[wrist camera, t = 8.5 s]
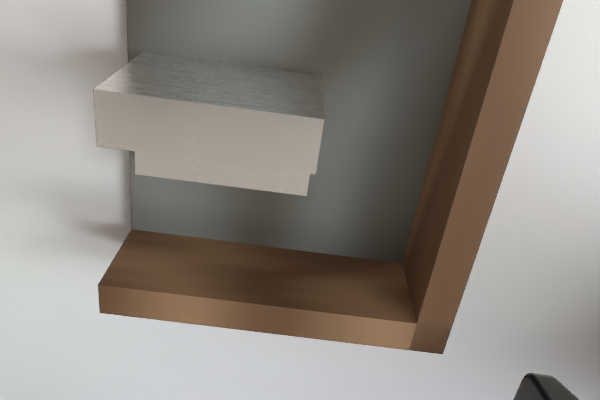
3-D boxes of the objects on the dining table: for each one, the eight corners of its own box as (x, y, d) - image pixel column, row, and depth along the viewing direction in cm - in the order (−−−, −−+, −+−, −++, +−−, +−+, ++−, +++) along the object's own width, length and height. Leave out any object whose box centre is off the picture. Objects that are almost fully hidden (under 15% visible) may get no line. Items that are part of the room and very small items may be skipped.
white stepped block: (322, 74, 18) (324, 119, 14) (307, 181, 20) (304, 247, 16) (143, 50, 18) (93, 88, 14) (145, 160, 20) (101, 222, 16)
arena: (534, -95, 16) (596, -99, 12) (422, 284, 22) (442, 353, 19) (127, -156, 15) (70, -179, 12) (135, 248, 22) (99, 312, 18)
